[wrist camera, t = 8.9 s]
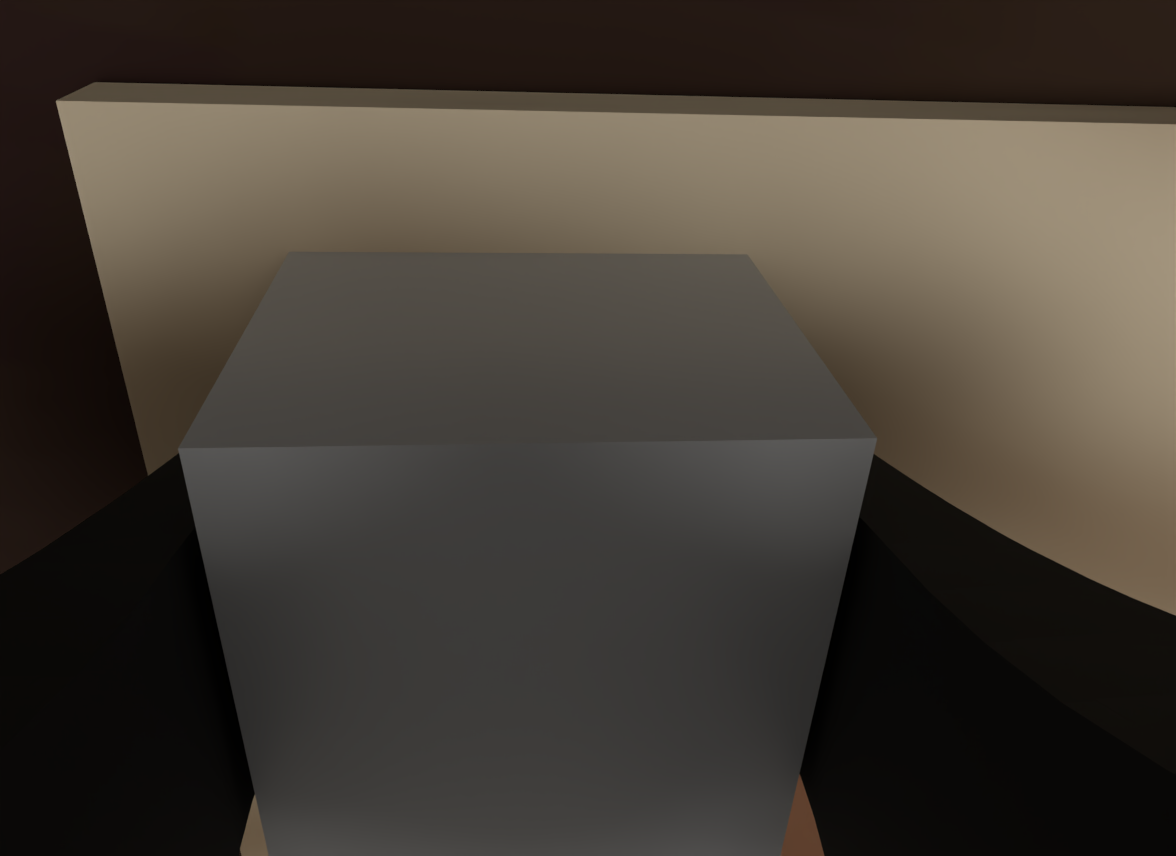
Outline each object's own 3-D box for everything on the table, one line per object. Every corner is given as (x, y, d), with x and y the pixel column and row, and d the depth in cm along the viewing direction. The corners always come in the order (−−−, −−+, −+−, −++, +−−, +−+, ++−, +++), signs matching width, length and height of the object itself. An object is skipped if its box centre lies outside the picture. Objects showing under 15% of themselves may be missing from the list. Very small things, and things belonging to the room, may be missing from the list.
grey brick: (701, 597, 13) (779, 858, 9) (335, 608, 12) (276, 889, 9) (747, 254, 10) (877, 438, 7) (289, 250, 10) (177, 448, 6)
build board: (942, 1069, 23) (961, 1120, 22) (326, 1121, 21) (319, 1179, 20) (1385, 111, 11) (1468, 132, 10) (95, 82, 10) (50, 102, 9)
